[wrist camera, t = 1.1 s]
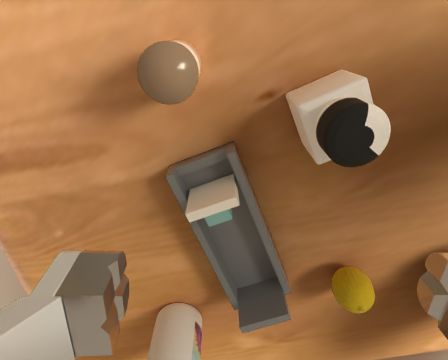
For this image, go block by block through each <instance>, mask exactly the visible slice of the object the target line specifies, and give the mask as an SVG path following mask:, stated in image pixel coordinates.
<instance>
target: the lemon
mask: <svg viewBox="0 0 448 360" xmlns="http://www.w3.org/2000/svg"><path fill="white" fill-rule="evenodd" d="M331 285H332V291H333V294H334V296H335V298H336V300H337V301H338V302H339V304H340V305H341V306H342V307H343V308H344V309H346V310H347V311H349V312H352V313H364V312H366V311H368V310H369V309H370V308H371V307H372V305H373V303H374V300H375V293H374V288H373V285H372V283H371V281H370V280H369V278H368V276H367V275H366V274H365V273H364V272H362V271H361V270H360V269H358V268H355V267H351V266H346V267H342V268H340V269H338V270H337V271H336V272H335V273H334V275H333V277H332V281H331Z"/></svg>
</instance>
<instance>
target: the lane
mask: <svg viewBox="0 0 448 360" xmlns="http://www.w3.org/2000/svg"><path fill="white" fill-rule="evenodd" d="M231 174H234V175H235V178H236V180H237V186H238V195H239V206H237V207H234V208H231V210H232V219H231V220H228V221H225V222H222V223H219V224H216V225H213V226H210V227H209V226H208V224H207V222H206V220H205V218H201V219H199V220H196V221H193V222H190V225H191V227H192V229H193V231H194V233H195V235H196V237H197V239H198V241H199V243H200V245H201V246H202V248H203V250H204V252H205V254H206V256H207V258H208V260H209V262H210V264H211V266H212V268H213V270H214V271H215V273H216V275H217V277H218V279H219V281H220V283H221V285H222V287H223V289H224V291H225V293H226V295H227V296H228V298H229V300H230V302H231V304H232V306H233V308H234V310H236V309H238V311H239V326H240V329H241V331H242V333H245V332H249V331H253V330H256V329H260V328H263V327H267V326H271V325H274V324H278V323H281V322H285V321H288V320H291V318H290V314H289V310H288V305H287V301H286V297H285V295H288V294H291V290H290V286H289V282H288V278H287V275H286V273H285V270H284V268H283V265H282V263H281V260H280V258H279V255H278V252H277V250H276V247H275V245H274V242H273V240H272V237H271V235H270V232H269V230H268V227H267V225H266V222H265V220H264V217H263V215H262V212H261V210H260V207H259V205H258V202H257V200H256V197H255V195H254V192H253V189H252V187H251V184H250V182H249V179H248V177H247V174H246V172H245V169H244V167H243V164H242V162H241V159H240V157H239V154H238V152H237V149H236V147H235V144H234V142H231V143H228V144H225V145H223V146H220V147H217V148H215V149H212V150H209V151H207V152H204V153H201V154H199V155H196V156H193V157H191V158H188V159H185V160H183V161H180V162H177V163H175V164H172V165H170V166H169V168H168V171H167V174H166V176H165V177H166V179H167V181H168V183H169V185H170V187H171V189H172V191H173V193H174V195H175V196H176V198H177V200H178V202H179V204H180V206H181V208H182V210H183V212H184V214H185V213H186V208H187V202H188V197H189V192H190V189H192V188H195V187H198V186H201V185H203V184H206V183H209V182H212V181H214V180H217V179H220V178H223V177H226V176H228V175H231ZM185 216H186V215H185ZM186 218H187V217H186ZM187 220H188V219H187Z"/></svg>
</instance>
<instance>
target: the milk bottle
mask: <svg viewBox="0 0 448 360" xmlns="http://www.w3.org/2000/svg"><path fill="white" fill-rule="evenodd" d="M201 337H202V317H201V315H200V313H199V311H198V310H197V309H196V308H195V307H193V306H191V305H189V304H185V303H172V304H169V305H167V306H165V307H164V308H162V309H161V310H160V312H159V313H158V315H157V318H156V322H155V327H154V331H153V336H152V340H151V345H150V350H149V354H148V359H147V360H200V354H201Z"/></svg>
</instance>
